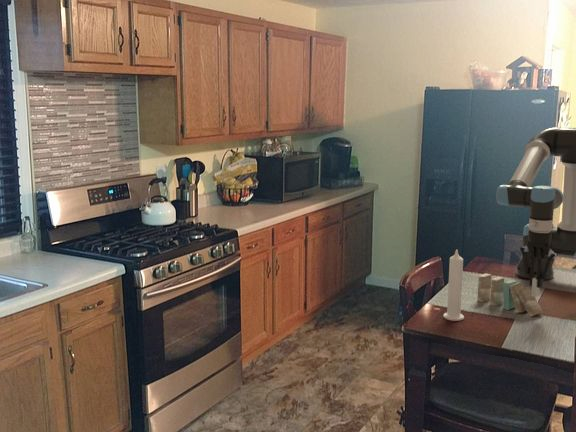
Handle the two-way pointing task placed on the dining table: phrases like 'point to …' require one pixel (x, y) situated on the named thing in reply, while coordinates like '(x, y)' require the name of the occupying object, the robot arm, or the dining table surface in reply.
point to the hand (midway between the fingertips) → (535, 295)
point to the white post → (455, 288)
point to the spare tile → (508, 295)
